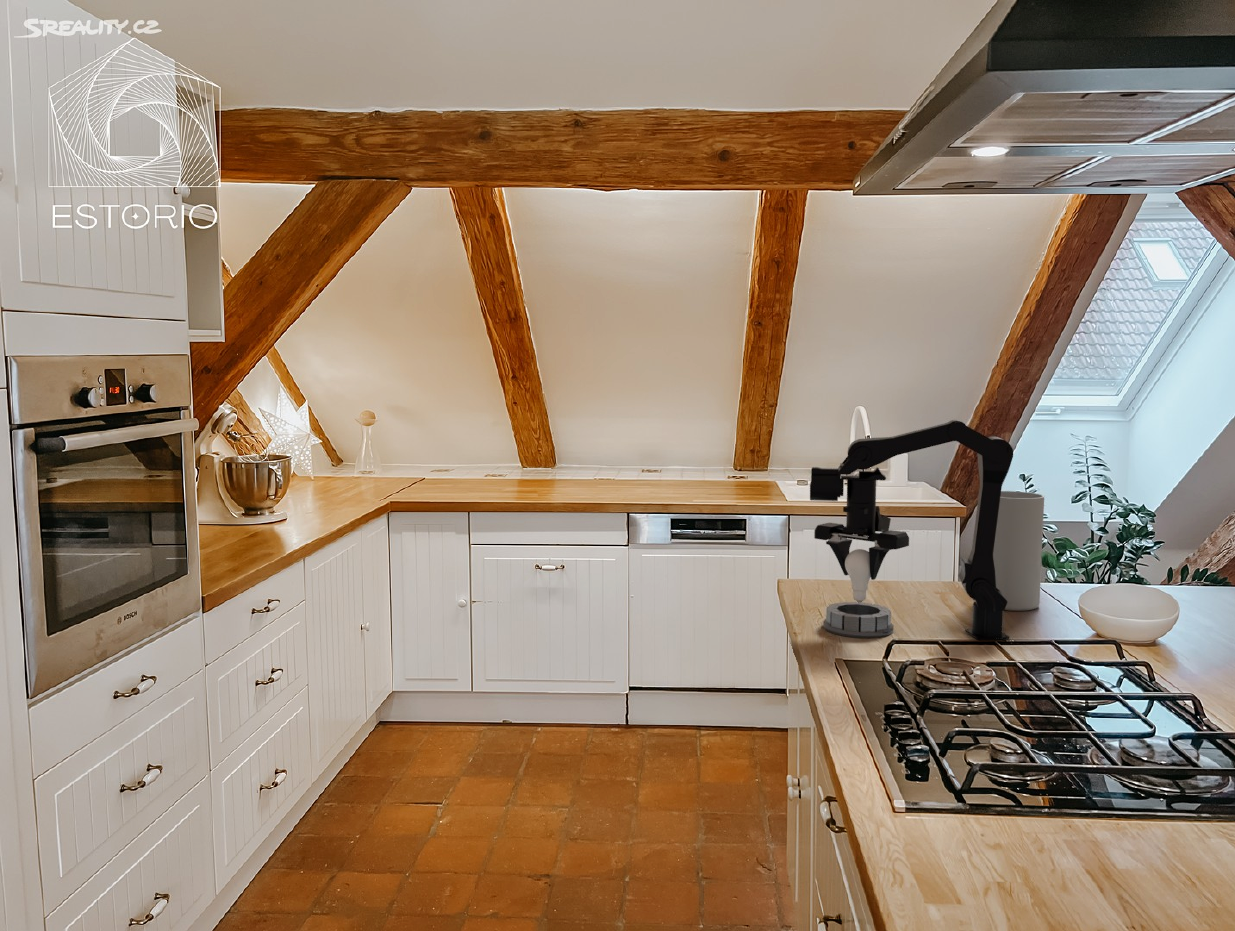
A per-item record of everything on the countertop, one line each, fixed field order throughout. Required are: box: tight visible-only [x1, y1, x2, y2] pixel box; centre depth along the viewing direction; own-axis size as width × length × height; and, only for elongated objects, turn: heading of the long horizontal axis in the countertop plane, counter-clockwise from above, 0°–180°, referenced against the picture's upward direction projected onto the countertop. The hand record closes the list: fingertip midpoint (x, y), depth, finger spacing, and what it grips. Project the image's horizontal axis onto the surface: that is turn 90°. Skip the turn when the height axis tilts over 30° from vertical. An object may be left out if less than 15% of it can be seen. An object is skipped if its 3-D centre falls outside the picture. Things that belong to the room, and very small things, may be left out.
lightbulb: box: [845, 548, 871, 603], centre depth 198 cm, size 6×6×11 cm
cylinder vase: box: [993, 490, 1045, 612], centre depth 217 cm, size 12×12×25 cm
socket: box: [822, 601, 895, 639], centre depth 199 cm, size 14×14×4 cm
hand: (859, 577), depth 198 cm, fingers closed on lightbulb, 6 cm apart
